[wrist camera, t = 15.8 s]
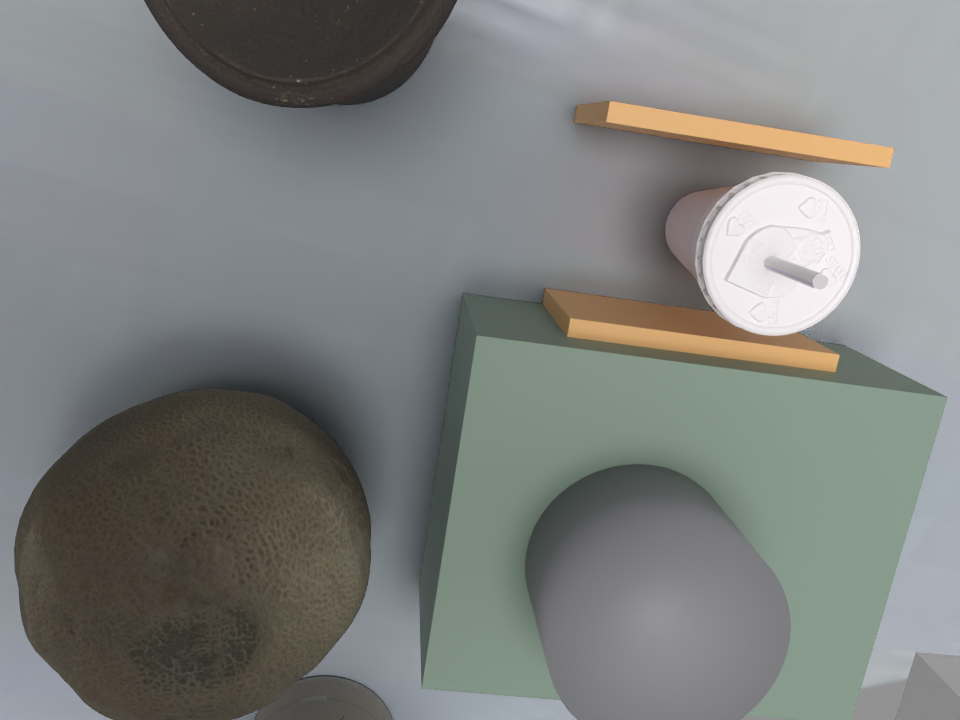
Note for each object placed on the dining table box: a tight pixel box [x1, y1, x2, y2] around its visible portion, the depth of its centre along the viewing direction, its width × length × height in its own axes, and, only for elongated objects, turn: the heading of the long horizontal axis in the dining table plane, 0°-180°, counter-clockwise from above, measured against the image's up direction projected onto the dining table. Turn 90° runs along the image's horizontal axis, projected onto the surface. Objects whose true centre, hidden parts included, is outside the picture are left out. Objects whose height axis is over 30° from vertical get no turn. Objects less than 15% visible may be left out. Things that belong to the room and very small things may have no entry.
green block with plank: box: [419, 101, 947, 720], centre depth 38 cm, size 20×26×15 cm
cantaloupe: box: [14, 389, 371, 720], centre depth 37 cm, size 14×14×15 cm
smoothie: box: [665, 172, 860, 336], centre depth 36 cm, size 6×6×14 cm
